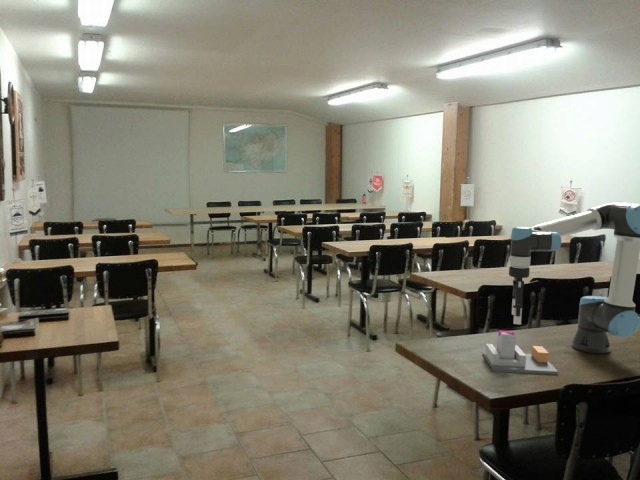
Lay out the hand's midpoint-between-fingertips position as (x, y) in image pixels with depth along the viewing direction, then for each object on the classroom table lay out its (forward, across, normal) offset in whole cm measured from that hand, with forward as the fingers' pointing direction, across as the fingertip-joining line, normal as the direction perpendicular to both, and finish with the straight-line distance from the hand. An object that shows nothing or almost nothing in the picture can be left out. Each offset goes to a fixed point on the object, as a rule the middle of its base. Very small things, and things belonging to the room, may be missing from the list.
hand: (516, 319), depth 214 cm
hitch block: (+18, 0, +2) cm, 18 cm away
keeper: (+17, -5, +10) cm, 20 cm away
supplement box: (+17, +1, -3) cm, 17 cm away
